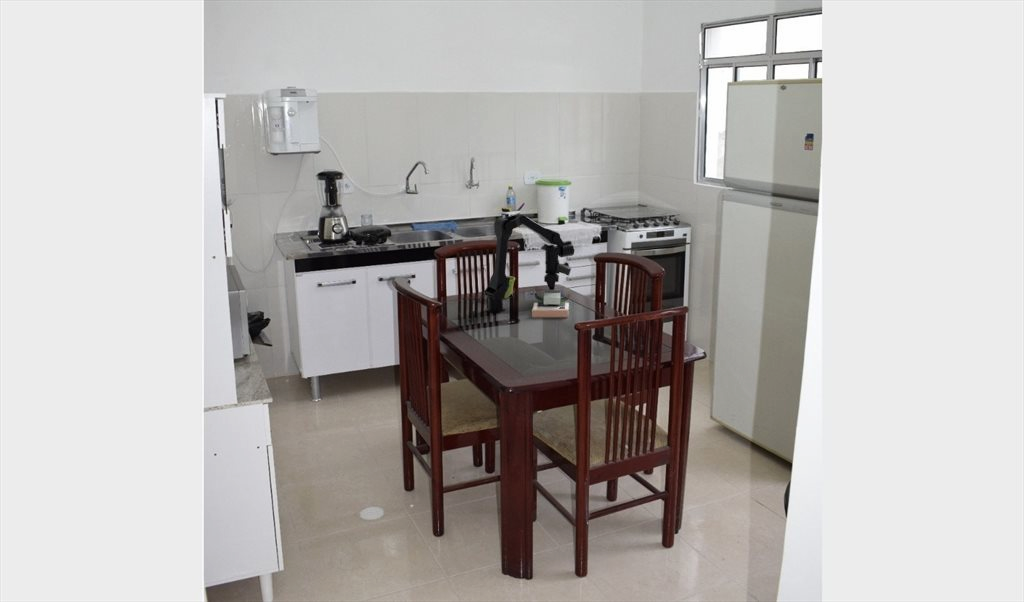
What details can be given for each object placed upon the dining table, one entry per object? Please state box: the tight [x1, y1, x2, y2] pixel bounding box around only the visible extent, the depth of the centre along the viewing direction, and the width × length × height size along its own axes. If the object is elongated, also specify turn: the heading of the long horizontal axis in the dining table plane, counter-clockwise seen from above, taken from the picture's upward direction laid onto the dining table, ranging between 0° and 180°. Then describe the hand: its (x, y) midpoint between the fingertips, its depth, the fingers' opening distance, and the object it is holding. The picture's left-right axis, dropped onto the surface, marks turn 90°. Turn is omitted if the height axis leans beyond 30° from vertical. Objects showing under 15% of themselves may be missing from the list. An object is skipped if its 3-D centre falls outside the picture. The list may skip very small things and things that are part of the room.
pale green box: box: [543, 289, 561, 307], centre depth 347 cm, size 10×7×5 cm
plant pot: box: [503, 275, 516, 299], centre depth 360 cm, size 9×9×9 cm
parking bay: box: [531, 302, 570, 318], centre depth 334 cm, size 16×15×3 cm
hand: (552, 292), depth 352 cm, fingers closed
